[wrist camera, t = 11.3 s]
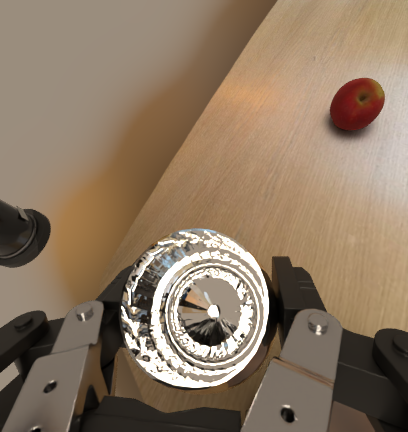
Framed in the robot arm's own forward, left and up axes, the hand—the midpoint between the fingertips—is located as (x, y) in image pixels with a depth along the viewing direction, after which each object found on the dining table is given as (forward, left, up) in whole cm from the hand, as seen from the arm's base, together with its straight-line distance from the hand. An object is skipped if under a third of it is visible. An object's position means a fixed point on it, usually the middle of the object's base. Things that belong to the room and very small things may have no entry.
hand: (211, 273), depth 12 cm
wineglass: (-1, -2, -8) cm, 8 cm away
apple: (+33, +18, -24) cm, 45 cm away
